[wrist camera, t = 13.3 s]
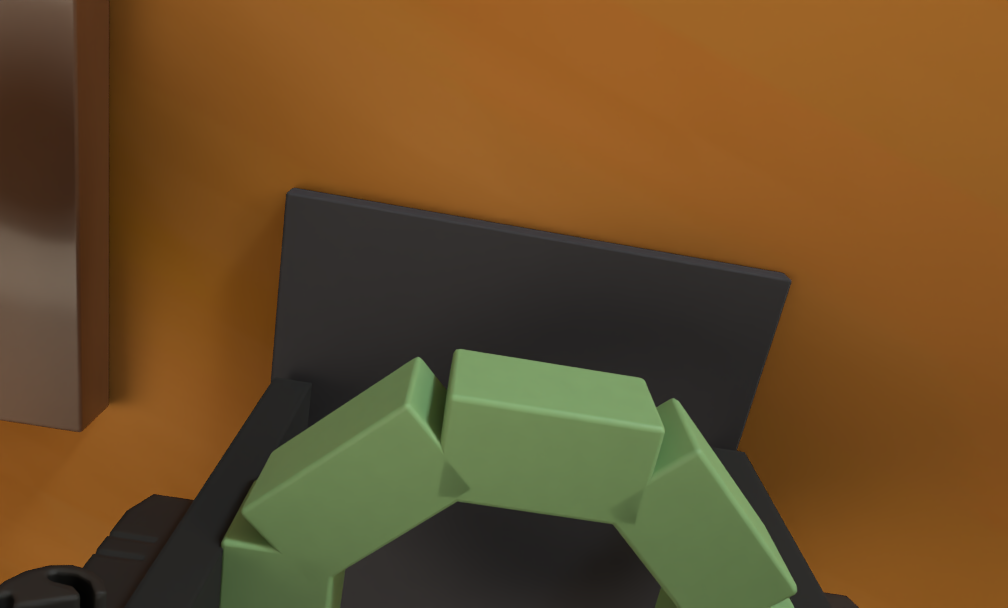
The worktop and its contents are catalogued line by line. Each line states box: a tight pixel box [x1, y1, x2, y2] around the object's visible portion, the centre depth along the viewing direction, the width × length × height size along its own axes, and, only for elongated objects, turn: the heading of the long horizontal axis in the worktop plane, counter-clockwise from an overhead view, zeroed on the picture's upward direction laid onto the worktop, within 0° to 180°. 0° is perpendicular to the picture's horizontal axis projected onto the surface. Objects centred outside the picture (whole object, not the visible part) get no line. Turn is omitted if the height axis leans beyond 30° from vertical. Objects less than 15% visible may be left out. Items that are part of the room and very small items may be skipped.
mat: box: [271, 188, 791, 608], centre depth 17 cm, size 10×10×1 cm
